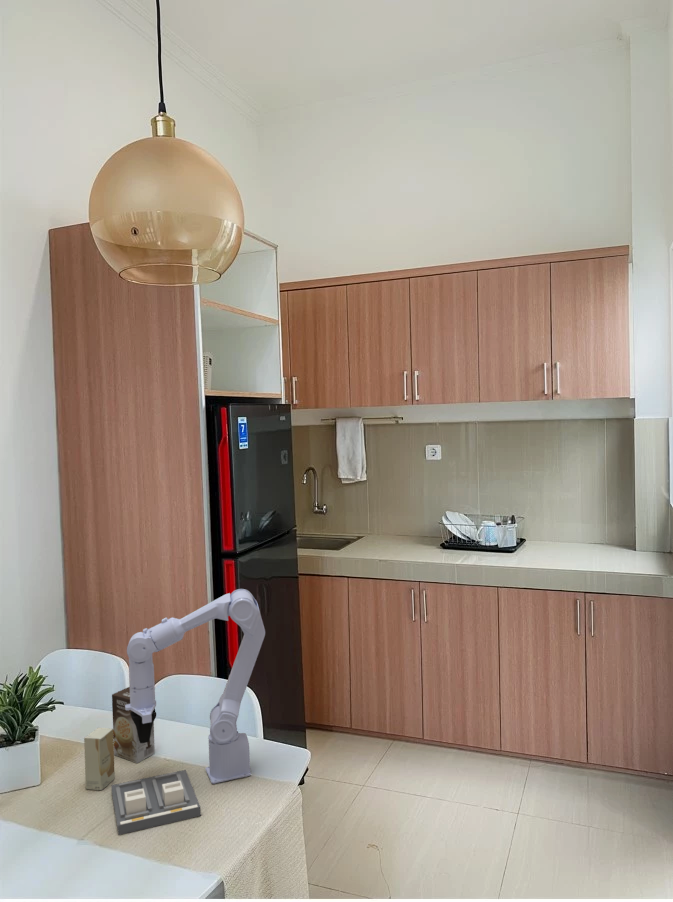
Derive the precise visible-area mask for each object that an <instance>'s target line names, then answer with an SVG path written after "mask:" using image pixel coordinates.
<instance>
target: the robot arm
mask: <svg viewBox="0 0 673 902" xmlns="http://www.w3.org/2000/svg"><path fill="white" fill-rule="evenodd" d="M229 617H230V619H231V620H232V621H233V622H234V623H236V624H237V625H238V626H239V627H240V629H241V631H242V632H243V637H242V639H241V642H240V645H239V648H238V651H237V654H236V656H235V659H234V661H233V665H232V667H231V671H230V673H229V675H228V679H227V682H226V685H225V687H224V689H223V692H222V694H221V695H220V697H219V699H218V702H217V703H216V704H215V705H214V706H213V708H212V709H211V711H210V713H209V721H210V727H209V734H208V738H207V739H208V754H209V755H208V758H209V759H208V762H209V763H208V765H209V766H206V767H205V768H204V769H205V772H206V774H207V777H208V778H209V779H208V780H209V781H210V783H211V784H213V785H214V784H219V783H222V782H228V781H232V780H237V779H242V778H246V777H250V776H252V773H251V760H250V759H251V758H250V757H251V756H250V755H251V753H250V752H251V751H250V743H249V738H248V736H247V733H246V732H239V730H238V727H237V723H238V718H239V715H240V714H239V713H240V709H241V703H242V701H243V697H244V695H245V692H246V690H247V686H248V684H249V682H250V679H251V676H252V673H253V670H254V667H255V665H256V661H257V660H258V659H257V658H258V657H259V654H260V650H261V648H262V645H263V642H264V639H265V636H266V629H265V626H264V621H263V619H262V614H261V611H260V608H259V604H258V601H257V599H255V596H254V595H253V594H252V593H251V592H250V591H249V590H248V589H244V588H238V589H235V590H233V591H232V592H231V593H230V592H229V593H226V594H223V595H222V596H220V597H218V598H216V599H214V600H212V601H210V602H208V603H207V604H205V605H204V606H201V607H200V608H198V609H196V610H195V611H193V612H190V613H188V614H187V615H184V617H182V618H176V617H170V618H168V617H166V616H165V618H162V619H161V622H160V623H158V624H155V625H154V626H152V627H150V628H147V627H145V628H143V629H142V631H140V632H139V631H138V632H136V633H134V634H133V635H131V637H130V639H129V641H128V644H127V647H126V654H127V657H128V680H129V682H128V685H129V686H128V687H130V704H127V705H125V709H126V710H131V712H130V714H131V718H132V720H133V722H134V723H135V725H136V729H137V734H138V738H139V741H140V743H146V742H149V740H150V736H151V729H152V725H153V722H154V721H155V720H156V717H157V711H156V709H155V708H156V707H157V699H156V692H155V691H156V685H155V683H156V682H155V664H154V661H153V659H154V658H153V657H154V656H153V653H157V652H160V651H162V650H164V649H166V648H168V647H170V646H172V645H174V644H176V643H178V642H180V641H181V640H183V639H184V636H185V633H186V632H188V631H190V630H193V629H195V628H197V627H200V626H202V625H204V624H206V623H209V622H211V621H213V620H215V619H217V620H222V621H227V622H228V621H229ZM154 723H155V722H154Z"/></svg>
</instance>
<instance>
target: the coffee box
mask: <svg viewBox="0 0 673 902" xmlns="http://www.w3.org/2000/svg"><path fill="white" fill-rule="evenodd" d="M111 703H112V707H111V708H112V729H113V741H114V756H116V757H119V758H121V759H125V760H127V761H130V762H132V761H133V763H135V762H136V763H135V764H139V763H140V762H142V761H143V760H145V758H146V759H147V758H149V757H151V756H154V755H155V753H156V752H155V722H153V725H152V729H151V736H150V740H149V742H146V743H140V741H139V738H138V734H137V729H136V725H135V723H134V722H133V720H132V718H131V714H130V712H131V710H126V709H125V705H127V704H130V686H128V687H126V688H123V689H120V690H119V691H117V692H114V693H112V694H111Z"/></svg>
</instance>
